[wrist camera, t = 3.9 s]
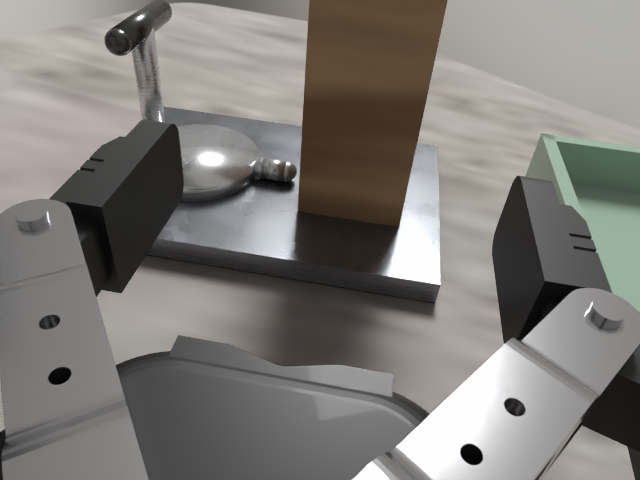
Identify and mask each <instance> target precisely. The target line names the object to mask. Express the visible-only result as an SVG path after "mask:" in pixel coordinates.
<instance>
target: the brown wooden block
mask: <svg viewBox="0 0 640 480" xmlns="http://www.w3.org/2000/svg"><path fill="white" fill-rule="evenodd" d="M446 5H447V0H310V3H309V20H308V37H307V54H306V71H305V89H304V106H303V123H302V141H301V158H300V176H299V193H298V210H297V211H300V212H307V213H313V214H319V215H326V216H332V217H338V218H345V219H351V220H357V221H364V222H370V223H377V224H383V225H389V226H396V227H399V226H400V221H401V216H402V212H403V207H404V202H405V198H406V193H407V188H408V183H409V179H410V174H411V169H412V165H413V160H414V155H415V151H416V146H417V141H418V136H419V132H420V127H421V122H422V118H423V113H424V108H425V104H426V99H427V94H428V89H429V85H430V80H431V75H432V71H433V66H434V61H435V56H436V52H437V47H438V42H439V37H440V33H441V28H442V24H443V18H444V14H445V9H446Z"/></svg>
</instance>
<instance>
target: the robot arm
mask: <svg viewBox="0 0 640 480" xmlns="http://www.w3.org/2000/svg"><path fill="white" fill-rule="evenodd" d="M183 188H184V177H183V167H182V158H181V148H180V139H179V132H178V128H177V126H176V125H175V124H171V123H164V122H158V121H151V120H142V121H141V122H140V123H139V124H138V125H137V126H136V127H135V128H134V129H133V130H132V131H131V132H130V133H129V134H128V135H127V137H118V138H116V139H114V140H112V141H110V142H108V143H106V144H104V145H102V146H101V147H100V148H99V149H98V150H97V151H96V152H95V153H94V154H93V155H92V156H91V157H90V160H87V161H86V162H85V163H84V164H83V165H82V166H81V167H80V170H77V171H76V172H75V173H74V174H73V175H72V176H71V177H70V178H69V179H68V180H67V181H66V182H65V183H64V184H63V185H62V186H61V187H60V188H59V190H58V191H57V192H56V193H55V194H54V195H53V196H52V197H51V198H50V199H36V200H30V201H26V202H22V203H19V204H16V205H14V206H12V207H10V208H8V209H6V210H5V211H4V212H2V213H1V214H0V381H1V392H2V402H3V413H4V423H5V430H3V431H1V432H0V480H542V478H543V477H544V476H545V474H546V473H547V472H548V471H549V469H550V468H551V467H552V465H553V464H554V463H555V461H556V460H557V459H558V457H559V456H560V455H561V453H562V452H563V451H564V449H565V448H566V447H567V445H568V444H569V443H570V442H571V440H572V439H573V438H574V436H575V435H576V434H577V432H578V431H579V430H580V428H581V427H582V426H585V427H587V428H589V429H591V430H593V431H595V432H598V433H600V434H602V435H604V436H606V437H608V438H611V439H613V440H615V441H617V442H619V443H621V444H624V445H626V446H627V447H628V451H629V455H630V459H631V463H632V468H633V472H634V476H635V480H640V313H639V311H638V310H637V309H636V308H635V307H634V306H633V305H631V304H630V303H629V302H627V301H626V300H624V299H623V298H621V297H619V296H617V295H615V294H613V293H612V290H611V287H610V285H609V282H608V279H607V277H606V274H605V271H604V268H603V266H602V263H601V260H600V258H599V255H598V253H596V250H597V249H596V247H595V244H594V241H593V240H591V237H592V236H591V233H590V230H589V228H588V225H587V222H586V220H585V219H584V218H583V217H582V216H581V215H580V214H579V213H578V212H577V211H576V210H575V209H574V208H573V207H572V206H570V205H563V204H560V203H559V200H558V197H557V194H556V191H555V187H554V184H553V182H552V181H550V180H543V179H536V178H530V177H523V176H517V177H516V178H515V180H514V181H513V184H512V186H511V189H510V192H509V194H508V197H507V200H506V203H505V206H504V208H503V211H502V214H501V217H500V219H499V222H498V225H497V228H496V231H495V235H494V239H493V247H492V256H493V264H494V272H495V279H496V287H497V295H498V302H499V310H500V317H501V325H502V333H503V340H504V345H503V346H502V347H501V348H500V349H499V350H498V351H497V352H496V353H495V354H494V355H493V356H491V357H490V358H489V359H488V360H487V361H486V362H485V363H484V364H483V365H482V366H481V367H480V368H479V369H478V370H477V371H476V372H475V373H474V374H473V375H471V376H470V377H469V378H468V379H467V380H466V381H465V382H464V383H463V384H462V385H461V386H460V387H459V388H458V389H457V390H456V391H455V392H454V393H453V394H452V395H450V396H449V397H448V398H447V399H446V400H445V401H444V402H443V403H442V404H441V405H440V406H439V407H438V408H437V409H436V410H435V411H434V412H433V413H432V414H431V415H430V414H429V413H428V412H427V411H425V410H424V409H423V408H421V407H420V406H418V405H417V404H416V403H414V402H413V401H411V400H409V399H407V398H405V397H404V396H402V395H400V394H397V393H395V392H393V379H394V374H389V373H383V372H378V371H372V370H367V369H361V368H356V367H350V366H345V365H312V366H279V365H276V364H274V363H271V362H269V361H267V360H264V359H262V358H260V357H257V356H255V355H253V354H250V353H248V352H246V351H243V350H241V349H239V348H236V347H234V346H232V345H229V344H223V343H218V342H212V341H207V340H201V339H196V338H190V337H185V336H179V335H178V337H177V339H176V341H175V343H174V345H173V347H172V349H171V351H168V352H159V353H152V354H147V355H143V356H139V357H136V358H133V359H130V360H127V361H124V362H122V363H120V364H118V365H115V362H114V358H113V355H112V351H111V348H110V344H109V341H108V337H107V334H106V330H105V327H104V323H103V320H102V316H101V313H100V309H99V306H98V302H97V299H96V297H97V295H98V294H99V293H100V291H101V290H106V291H112V292H117V293H122V292H123V290H124V288H125V287H126V285H127V284H128V282H129V281H130V279H131V278H132V276H133V274H134V273H135V271H136V270H137V268H138V267H139V265H140V264H141V262H142V260H143V259H144V257H145V256H146V254H147V253H148V251H149V250H150V248H151V247H152V245H153V243H154V242H155V240H156V239H157V237H158V236H159V234H160V233H161V231H162V229H163V228H164V226H165V225H166V223H167V222H168V220H169V219H170V217H171V215H172V214H173V212H174V211H175V209H176V208H177V206H178V205H179V203H180V200H181V198H182V194H183Z"/></svg>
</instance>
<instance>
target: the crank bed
mask: <svg viewBox="0 0 640 480" xmlns="http://www.w3.org/2000/svg"><path fill="white" fill-rule="evenodd" d="M171 16H172V9H171V7H170V5H169V4H168V3H167V2H166V1H165V0H153V1H151V2H150V3H148V4H147V5H145V6H144V7H142V8H141V9H140V10H138V11H137V12H135V13H134V14H132V15H131V16H129V17H128V18H126V19H125V20H123V21H122V22H121V23H119V24H118V25H116V26H115V27H113V28H112V29H110V30H109V31H108V32H107V33H106V35H105V45H106V47H107V49H108V50H109V51H110V52H111V53H112V54H114V55H117V56H123V55H126V54H128V53H129V52H130V51H132V56H133V62H134V69H135V76H136V82H137V89H138V95H139V102H140V109H141V115H142V120H151V121H158V122H164V123H171V124H175V125H176V126H177V128H178V132H179V139H180V148H181V158H182V167H183V177H184V188H183V194H182V198H181V200H180V203H179V205H178V206H177V208H176V209H175V211H174V212H173V214H172V215H171V217H170V219H169V220H168V222H167V223H166V225H165V226H164V228H163V229H162V231H161V233H160V234H159V236H158V237H157V239H156V240H155V242H154V243H153V245H152V247H151V248H150V250H149V251H148V253H147V254H146V255H152V256H158V257H164V258H170V259H176V260H181V261H187V262H193V263H199V264H205V265H211V266H217V267H223V268H229V269H235V270H241V271H247V272H253V273H259V274H265V275H271V276H277V277H283V278H289V279H295V280H301V281H307V282H313V283H319V284H325V285H331V286H337V287H343V288H349V289H354V290H360V291H366V292H372V293H378V294H384V295H390V296H396V297H402V298H408V299H414V300H420V301H426V302H432V303H435V301H436V298H437V295H438V291H439V288H440V227H439V168H438V146H432V145H425V144H418V143H417V146H416V151H415V155H414V160H413V165H412V169H411V174H410V179H409V183H408V188H407V193H406V198H405V202H404V207H403V212H402V216H401V221H400V226H399V227H396V226H389V225H383V224H377V223H370V222H364V221H357V220H351V219H345V218H338V217H332V216H326V215H319V214H313V213H307V212H300V211H297V210H298V193H299V176H300V158H301V141H302V127H301V126H294V125H287V124H280V123H273V122H266V121H259V120H252V119H245V118H238V117H231V116H225V115H218V114H211V113H204V112H197V111H190V110H183V109H176V108H169V107H163V99H162V90H161V82H160V74H159V66H158V57H157V49H156V41H155V33H154V32H155V31H157V30H158V29H159V28H160V27H162V26H163V25H164V24H165V23H166V22H168V21H169V20H170V18H171ZM142 120H141V121H142ZM141 121H140V122H141ZM140 122H139V123H140ZM139 123H138V124H139ZM138 124H137V125H138ZM137 125H136V126H137ZM136 126H135V127H136ZM135 127H134V128H135ZM134 128H133V129H134ZM133 129H132V130H133ZM126 137H127V136H126Z"/></svg>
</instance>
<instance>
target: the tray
mask: <svg viewBox="0 0 640 480" xmlns="http://www.w3.org/2000/svg"><path fill="white" fill-rule="evenodd" d="M525 177H530V178H536V179H543V180H550V181H552V182H553V184H554V187H555V191H556V194H557V197H558V200H559V203H560V204H563V205H570V206H572V207H573V208H574V209H575V210H576V211H577V212H578V213H579V214H580V215H581V216H582V217H583V218H584V219H585V220H586V222H587V225H588V228H589V230H590V233H591V236H592V237H591V240H593V241H594V244H595V247H596V249H597V250H596V253H598V255H599V258H600V260H601V263H602V266H603V268H604V271H605V274H606V277H607V279H608V282H609V285H610V287H611V290H612V293H613V294H615V295H617V296H619V297H621V298H623V299H624V300H626V301H627V302H629V303H630V304H631V305H633V306H634V307H635V308H636V309H637V310H638V311H639V313H640V147H633V146H626V145H619V144H612V143H605V142H598V141H591V140H584V139H576V138H569V137H562V136H555V135H548V134H541V136H540V139H539V141H538V144H537V147H536V149H535V152H534V155H533V157H532V160H531V163H530V166H529V168H528V171H527V174H526V176H525Z"/></svg>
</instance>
